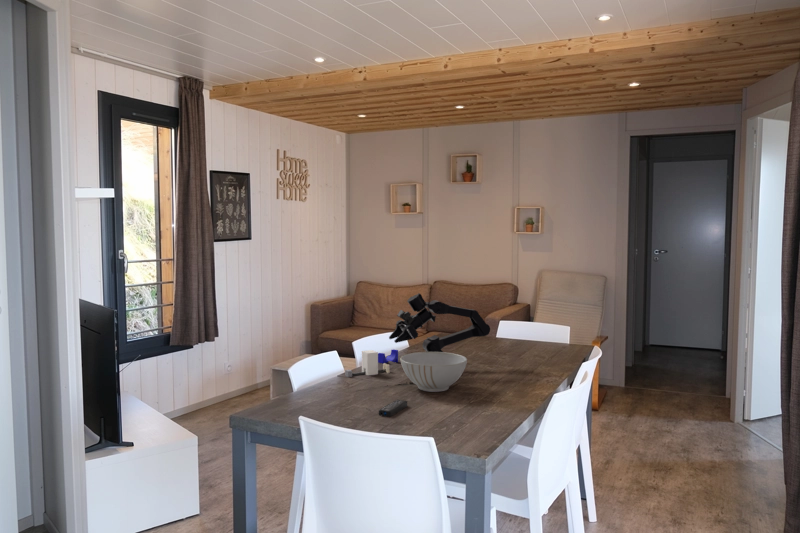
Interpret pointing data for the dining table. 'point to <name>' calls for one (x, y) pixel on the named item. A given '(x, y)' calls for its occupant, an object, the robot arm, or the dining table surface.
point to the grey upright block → (370, 362)
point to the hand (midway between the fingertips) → (392, 340)
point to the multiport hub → (392, 408)
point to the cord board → (350, 374)
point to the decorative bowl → (433, 369)
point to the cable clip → (388, 357)
